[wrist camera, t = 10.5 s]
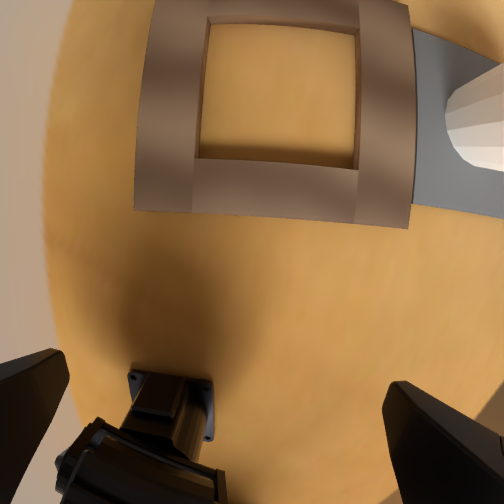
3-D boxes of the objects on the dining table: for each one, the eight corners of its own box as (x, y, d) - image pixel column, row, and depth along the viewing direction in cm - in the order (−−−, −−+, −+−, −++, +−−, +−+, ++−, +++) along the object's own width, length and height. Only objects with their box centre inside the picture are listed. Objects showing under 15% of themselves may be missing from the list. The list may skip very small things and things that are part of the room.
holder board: (400, 226, 18) (408, 229, 17) (141, 208, 18) (133, 210, 17) (401, 12, 14) (407, 5, 13) (163, -6, 15) (158, -15, 14)
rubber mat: (512, 220, 17) (516, 221, 17) (409, 203, 18) (413, 203, 17) (512, 73, 15) (515, 72, 14) (409, 31, 15) (412, 28, 14)
